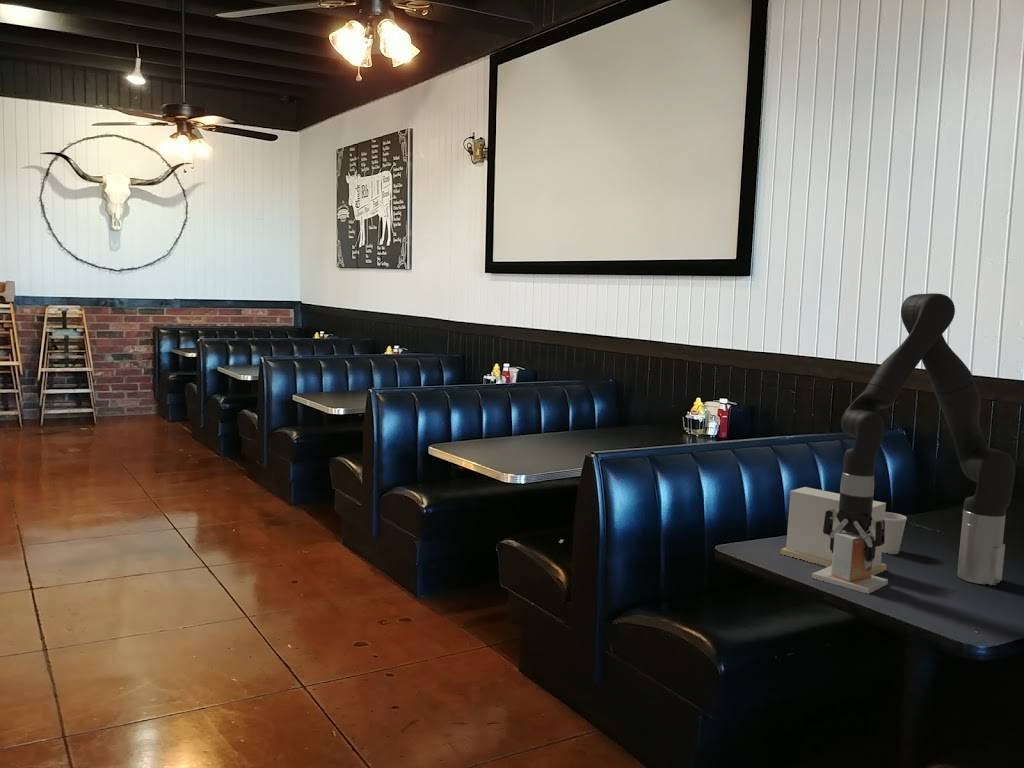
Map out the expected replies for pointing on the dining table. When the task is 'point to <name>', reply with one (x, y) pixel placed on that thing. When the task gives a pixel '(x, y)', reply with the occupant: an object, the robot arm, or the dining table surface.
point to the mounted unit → (820, 527)
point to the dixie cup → (893, 532)
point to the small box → (850, 557)
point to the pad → (858, 585)
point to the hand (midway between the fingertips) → (851, 556)
